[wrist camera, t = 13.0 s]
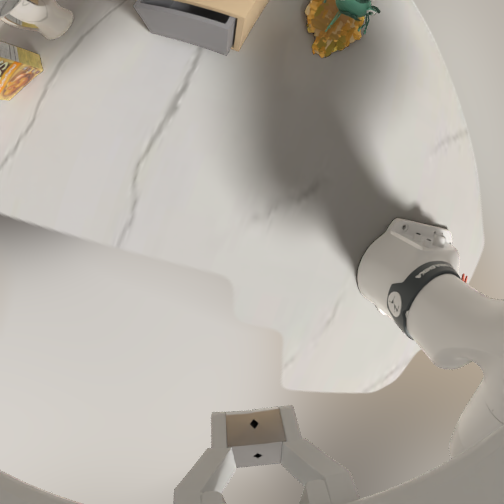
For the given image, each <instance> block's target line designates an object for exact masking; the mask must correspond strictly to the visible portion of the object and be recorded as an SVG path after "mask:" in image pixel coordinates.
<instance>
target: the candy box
mask: <svg viewBox="0 0 504 504" xmlns="http://www.w3.org/2000/svg"><path fill="white" fill-rule="evenodd" d="M42 71H43V68H42V64H41V60H40V55H38V54H36V53H33V52H30V51H28V50H25V49H22V48H20V47H17V46H14V45H11V44H8V43H5V42H3V41H0V99H1V100H11V99H12V98H13V97H14V96H15V95H16V94H17V93H18V92H19V91H20V90H21V89H22V88H23V87H24V86H26V85H27V84H28V83H29V82H30V81H31V80H32V79H33V78H35V77H36V76H37V75H38V74H40V73H41V72H42Z"/></svg>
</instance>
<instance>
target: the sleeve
mask: <svg viewBox="0 0 504 504" xmlns="http://www.w3.org/2000/svg"><path fill="white" fill-rule="evenodd" d="M136 1H137V0H136ZM174 1H178V2H182V3H187V4H191V5H195V6H198V7H202V8H206V9H209V10H212V11H216V12H219V13H222V14H225V15H228V16H231V17H234V18H237V26H236V34H235V41H234V43H233V45H232V47H231V49H233V50H236V51H238V52H239V50H240V48H241V46H242V45H243V43H244V41H245V39H246V38H247V36H248V34H249V33H250V31H251V29H252V27H253V26H254V24H255V22H256V21H257V19H258V18H259V16H260V14H261V13H262V11H263V9H264V8H265V6H266V5H267V3H268V2H269V0H174Z"/></svg>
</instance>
